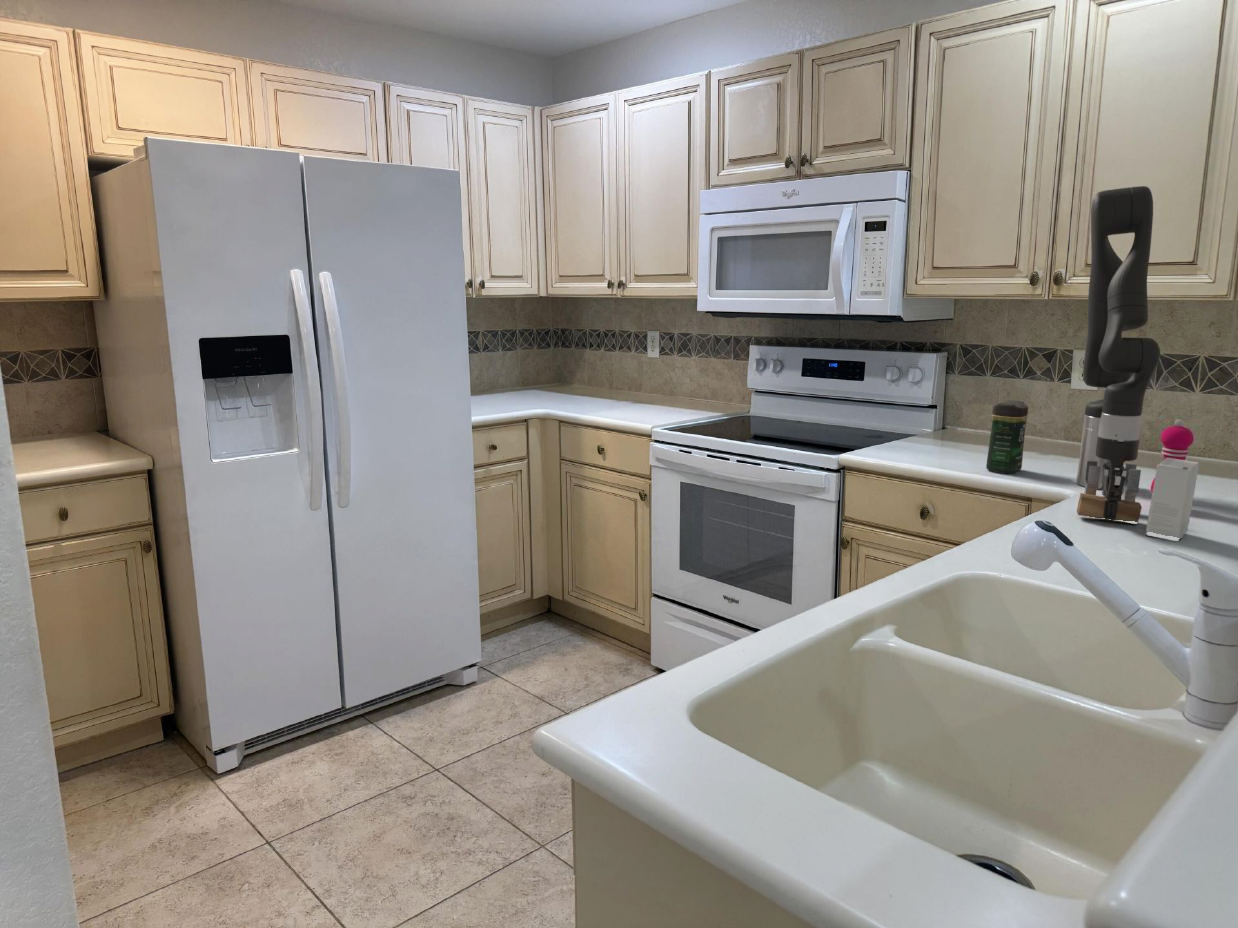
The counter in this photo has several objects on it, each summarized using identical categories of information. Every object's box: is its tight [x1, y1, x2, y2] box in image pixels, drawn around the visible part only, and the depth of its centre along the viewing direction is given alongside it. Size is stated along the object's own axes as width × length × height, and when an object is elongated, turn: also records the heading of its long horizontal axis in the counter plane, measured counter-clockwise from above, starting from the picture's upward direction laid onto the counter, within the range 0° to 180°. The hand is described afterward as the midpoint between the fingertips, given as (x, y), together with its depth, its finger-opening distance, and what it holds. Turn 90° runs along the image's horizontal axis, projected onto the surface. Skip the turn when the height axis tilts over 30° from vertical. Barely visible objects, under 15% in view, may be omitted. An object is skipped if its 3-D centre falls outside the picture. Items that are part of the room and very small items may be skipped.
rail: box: [1076, 492, 1143, 523], centre depth 180 cm, size 4×11×4 cm, turn 67°
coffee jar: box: [985, 400, 1029, 474], centre depth 226 cm, size 10×8×19 cm
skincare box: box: [1145, 458, 1200, 538], centre depth 169 cm, size 8×6×15 cm
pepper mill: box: [1150, 418, 1195, 493], centre depth 189 cm, size 7×7×20 cm
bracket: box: [1083, 460, 1142, 502], centre depth 187 cm, size 7×10×10 cm
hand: (1108, 515), depth 181 cm, fingers closed on rail, 3 cm apart
